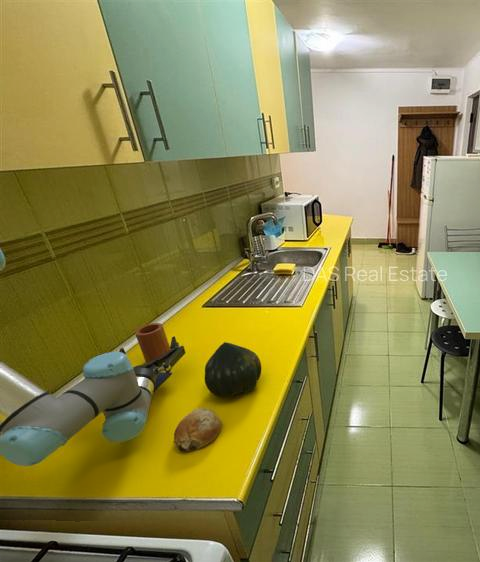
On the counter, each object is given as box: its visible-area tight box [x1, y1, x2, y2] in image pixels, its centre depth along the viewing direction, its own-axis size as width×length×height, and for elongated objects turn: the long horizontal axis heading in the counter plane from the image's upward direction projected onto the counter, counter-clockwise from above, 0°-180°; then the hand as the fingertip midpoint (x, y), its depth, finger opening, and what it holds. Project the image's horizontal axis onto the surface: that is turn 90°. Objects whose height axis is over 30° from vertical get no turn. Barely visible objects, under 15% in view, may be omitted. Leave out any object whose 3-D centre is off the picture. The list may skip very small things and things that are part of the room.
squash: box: [204, 341, 263, 398], centre depth 88 cm, size 14×15×15 cm
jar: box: [134, 322, 170, 365], centre depth 101 cm, size 7×7×12 cm
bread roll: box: [173, 407, 223, 452], centre depth 74 cm, size 10×10×8 cm
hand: (149, 345), depth 96 cm, fingers open, 13 cm apart
